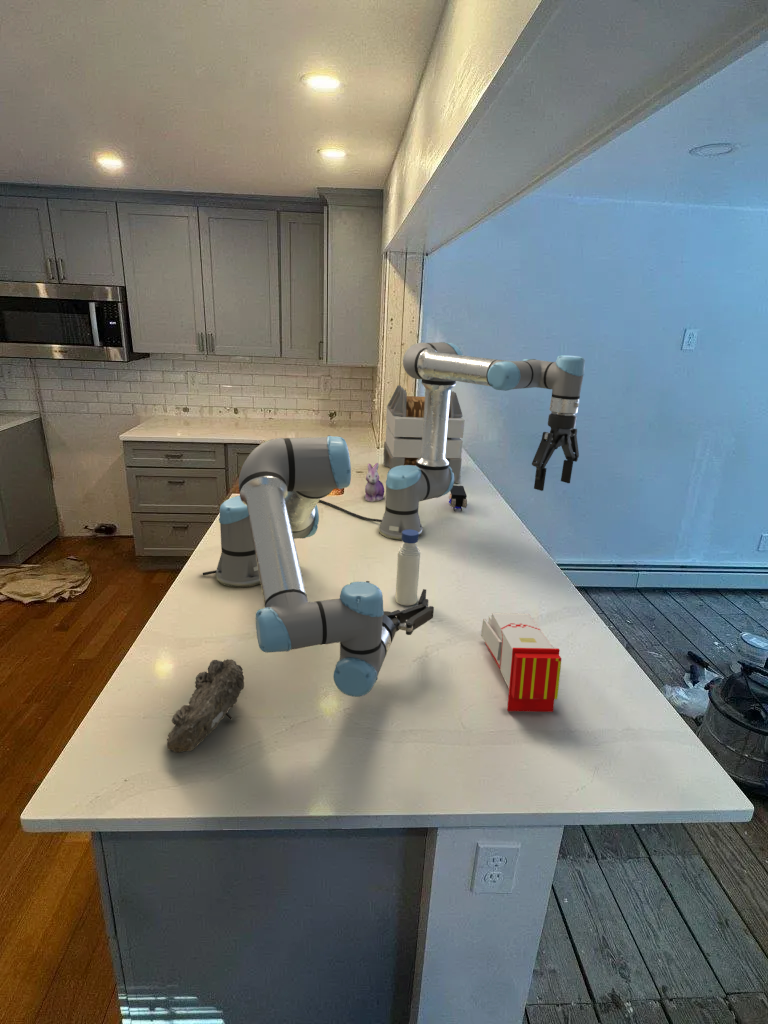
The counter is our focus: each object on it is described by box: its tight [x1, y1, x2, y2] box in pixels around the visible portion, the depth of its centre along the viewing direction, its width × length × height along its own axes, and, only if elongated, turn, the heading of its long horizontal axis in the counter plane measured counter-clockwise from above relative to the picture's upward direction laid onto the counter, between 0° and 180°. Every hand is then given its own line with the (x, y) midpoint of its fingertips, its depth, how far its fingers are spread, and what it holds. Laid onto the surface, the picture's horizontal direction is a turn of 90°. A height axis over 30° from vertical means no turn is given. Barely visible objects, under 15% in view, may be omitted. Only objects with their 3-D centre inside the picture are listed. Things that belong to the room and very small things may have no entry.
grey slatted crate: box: [383, 384, 465, 484], centre depth 268 cm, size 34×33×41 cm
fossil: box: [166, 658, 245, 754], centre depth 106 cm, size 22×10×15 cm
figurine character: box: [448, 484, 468, 512], centre depth 228 cm, size 7×8×15 cm
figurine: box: [364, 462, 385, 502], centre depth 233 cm, size 9×10×15 cm
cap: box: [401, 529, 420, 544], centre depth 148 cm, size 4×4×2 cm
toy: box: [480, 612, 562, 713], centre depth 124 cm, size 12×13×30 cm
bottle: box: [394, 542, 421, 607], centre depth 151 cm, size 6×6×20 cm
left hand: (395, 590), depth 133 cm, fingers open, 13 cm apart
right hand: (552, 485), depth 166 cm, fingers open, 13 cm apart
